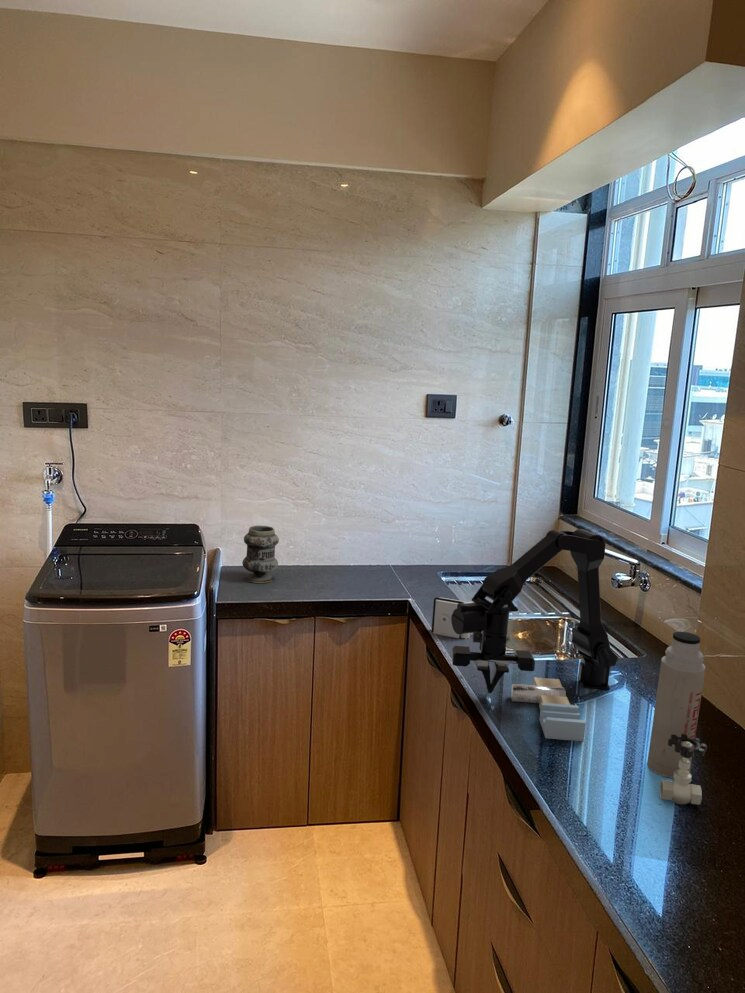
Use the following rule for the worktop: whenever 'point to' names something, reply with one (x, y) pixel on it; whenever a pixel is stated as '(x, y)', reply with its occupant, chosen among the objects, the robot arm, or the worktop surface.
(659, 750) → the thermos bottle
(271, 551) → the apothecary jar
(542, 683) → the beam
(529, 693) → the light grey bar
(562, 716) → the v block
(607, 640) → the robot arm
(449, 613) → the hinge
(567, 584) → the worktop surface
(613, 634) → the worktop surface
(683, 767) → the valve
